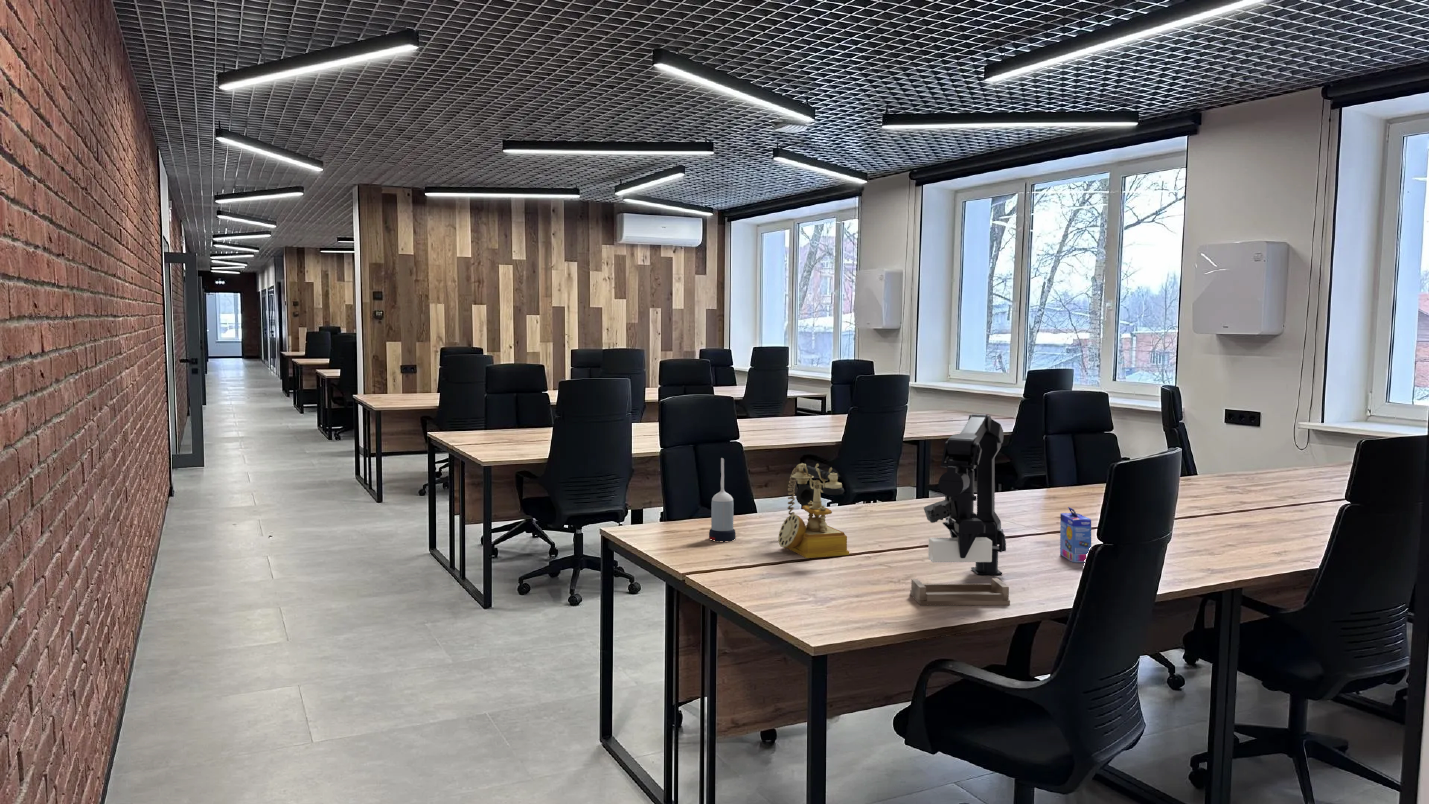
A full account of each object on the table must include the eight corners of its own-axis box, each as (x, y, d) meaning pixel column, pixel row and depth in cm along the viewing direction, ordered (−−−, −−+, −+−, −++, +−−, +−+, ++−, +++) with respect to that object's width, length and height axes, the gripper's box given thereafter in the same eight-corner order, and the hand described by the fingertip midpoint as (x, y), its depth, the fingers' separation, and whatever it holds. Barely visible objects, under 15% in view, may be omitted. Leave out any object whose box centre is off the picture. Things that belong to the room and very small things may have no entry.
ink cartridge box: (1058, 554, 277) (1059, 504, 276) (1077, 554, 278) (1078, 504, 277) (1072, 563, 268) (1073, 511, 267) (1091, 562, 268) (1093, 511, 267)
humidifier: (706, 541, 294) (706, 459, 292) (712, 536, 302) (712, 456, 300) (732, 542, 292) (732, 460, 290) (738, 537, 300) (738, 457, 298)
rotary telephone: (753, 538, 298) (753, 457, 297) (805, 534, 304) (806, 455, 303) (800, 564, 265) (801, 473, 263) (858, 559, 271) (860, 470, 269)
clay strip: (928, 558, 231) (928, 537, 231) (986, 558, 232) (986, 537, 231) (932, 562, 227) (933, 541, 227) (991, 561, 228) (992, 541, 227)
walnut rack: (910, 594, 234) (910, 577, 234) (995, 593, 235) (996, 577, 235) (920, 605, 224) (920, 588, 224) (1010, 604, 225) (1010, 588, 225)
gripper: (917, 484, 237) (916, 547, 238) (938, 497, 219) (936, 565, 220) (962, 484, 238) (961, 547, 239) (987, 497, 219) (985, 565, 220)
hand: (959, 555), depth 229 cm, fingers closed on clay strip, 4 cm apart
